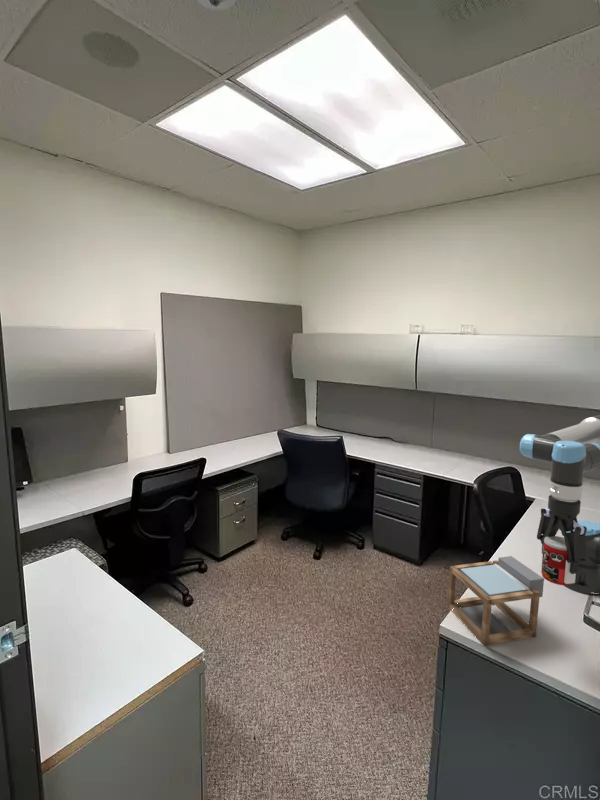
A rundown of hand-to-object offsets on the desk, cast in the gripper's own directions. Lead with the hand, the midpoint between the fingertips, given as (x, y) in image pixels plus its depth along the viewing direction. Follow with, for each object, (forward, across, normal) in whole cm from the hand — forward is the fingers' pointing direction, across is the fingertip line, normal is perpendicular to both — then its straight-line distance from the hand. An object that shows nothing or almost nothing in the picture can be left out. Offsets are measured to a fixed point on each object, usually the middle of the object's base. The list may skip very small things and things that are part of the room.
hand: (557, 574), depth 119 cm
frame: (+23, -14, -10) cm, 29 cm away
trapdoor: (+12, -14, -7) cm, 20 cm away
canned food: (+1, 0, 0) cm, 1 cm away
